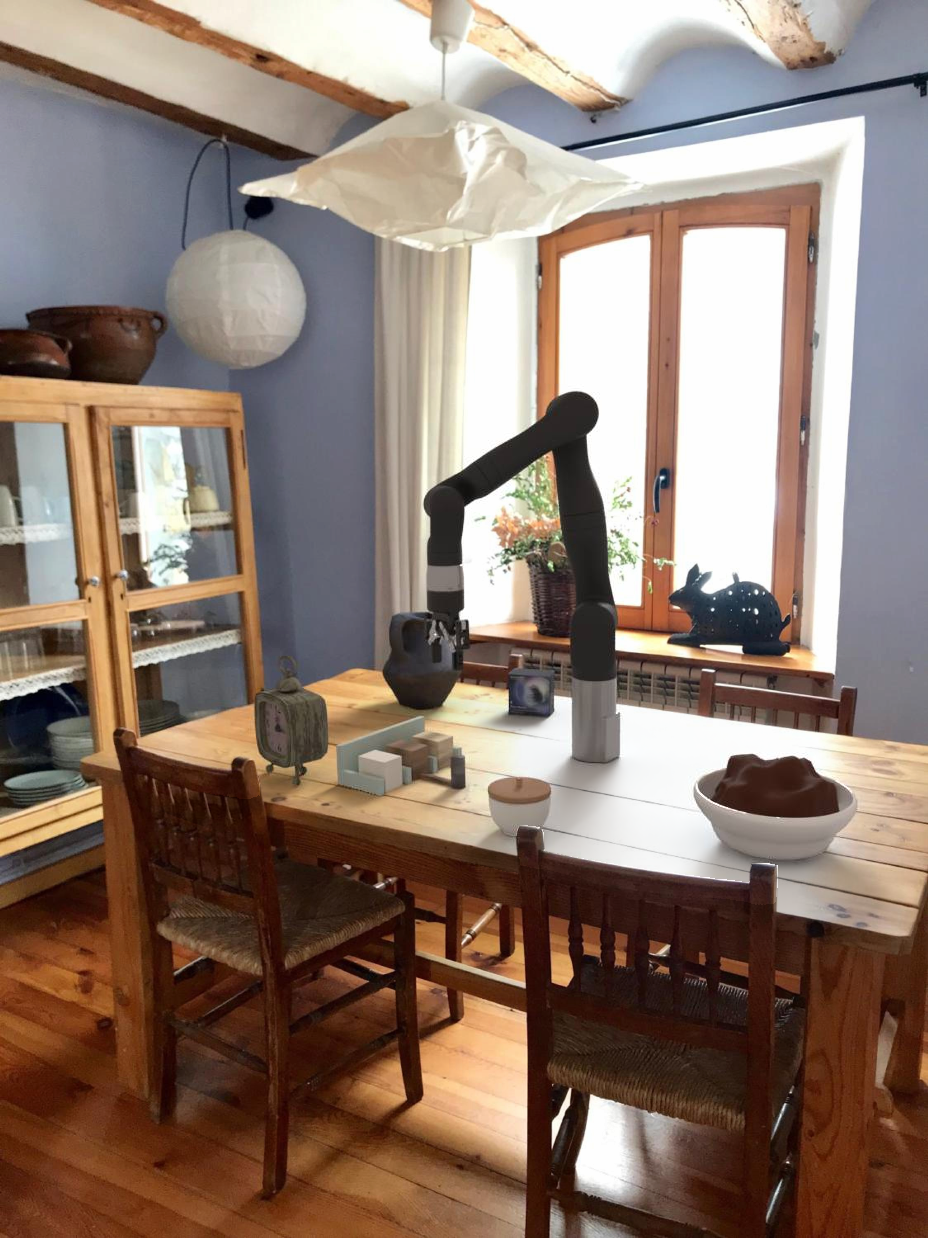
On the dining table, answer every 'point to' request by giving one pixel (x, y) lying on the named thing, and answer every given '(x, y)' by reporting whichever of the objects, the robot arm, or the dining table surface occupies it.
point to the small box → (531, 692)
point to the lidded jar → (519, 803)
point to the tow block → (418, 762)
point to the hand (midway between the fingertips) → (446, 666)
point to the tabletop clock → (290, 724)
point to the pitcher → (417, 665)
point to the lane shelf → (378, 741)
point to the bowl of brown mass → (774, 806)
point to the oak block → (437, 746)
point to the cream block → (382, 767)
